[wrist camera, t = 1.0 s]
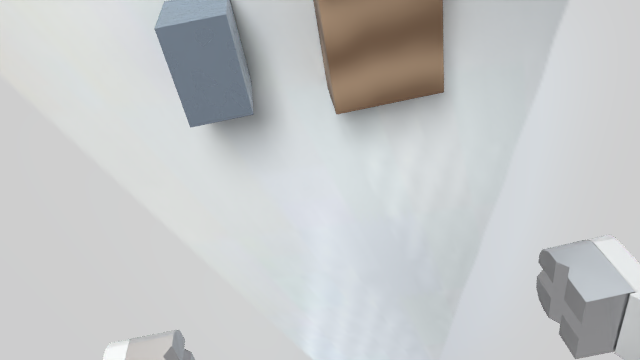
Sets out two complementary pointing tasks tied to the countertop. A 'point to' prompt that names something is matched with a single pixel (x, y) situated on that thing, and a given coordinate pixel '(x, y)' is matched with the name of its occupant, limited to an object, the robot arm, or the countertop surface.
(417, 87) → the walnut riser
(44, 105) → the countertop surface
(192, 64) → the block
